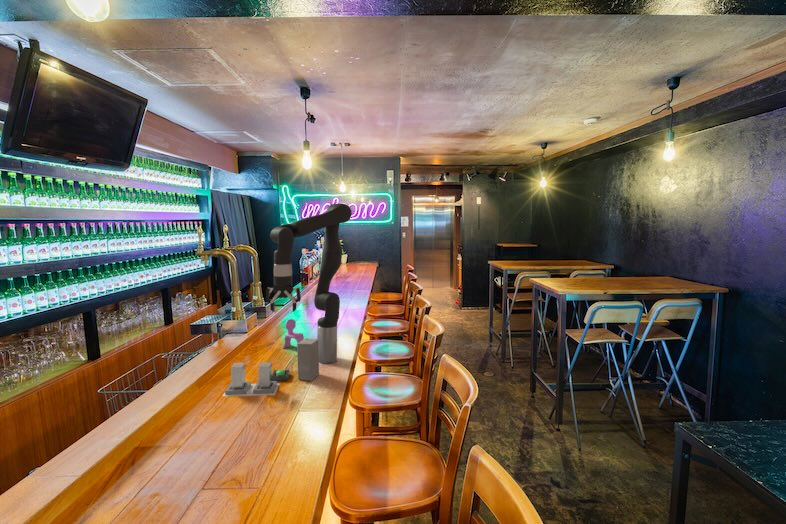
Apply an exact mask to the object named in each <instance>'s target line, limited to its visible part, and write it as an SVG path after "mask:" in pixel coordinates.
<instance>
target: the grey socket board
mask: <svg viewBox="0 0 786 524" xmlns="http://www.w3.org/2000/svg"><path fill="white" fill-rule="evenodd" d="M279 386H280V382H278V381H272V387H271V389H259V380H258V381H257V382H256V383H252V382H251V381H245V388H244V389H231V382H230V383H229V384H228V386H227V388H226V389H225V390H224V391H225V392H224V393H223V394H222V395H221V397H255V396H256V397H257V396H276V393H277V391H278V388H279Z"/></svg>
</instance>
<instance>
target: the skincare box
mask: <svg viewBox="0 0 786 524" xmlns="http://www.w3.org/2000/svg"><path fill="white" fill-rule="evenodd" d="M296 343H297V342H296ZM296 345H297V347H296V349H297V351H296V353H297V380H300V379H301V381H309V380H311V381H310V382H313V380H314V379H315V378H316V377H317V376H318V375H319V374H320V362H319V351H318V339H317V338H305V337H304V340H301V342H299V343H297V344H296Z"/></svg>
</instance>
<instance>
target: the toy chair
mask: <svg viewBox="0 0 786 524" xmlns="http://www.w3.org/2000/svg"><path fill="white" fill-rule="evenodd" d="M296 324H297V323H296V320H295V319H293V318H288V319H287V320H286V322H285V325H284V326H285V329H286V330H287V334H285V337H284V344H283V347H282V349H283V350H284V349H286V348H288V347H289V346H291V343H292V342H291V339H294V340H296V343H299V342H301V340H304V339H305V336H304V333H302V332H295V331H294V329H296ZM295 352H297V348H296V350H295Z"/></svg>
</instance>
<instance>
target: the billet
mask: <svg viewBox="0 0 786 524" xmlns="http://www.w3.org/2000/svg"><path fill="white" fill-rule="evenodd" d="M272 364H273V363H272V361H269V362H268V361H267V362H260V363H259V366H258V381H259V389H271V387H272V374H273V372H272V370H273V368H272V366H273V365H272Z"/></svg>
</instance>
